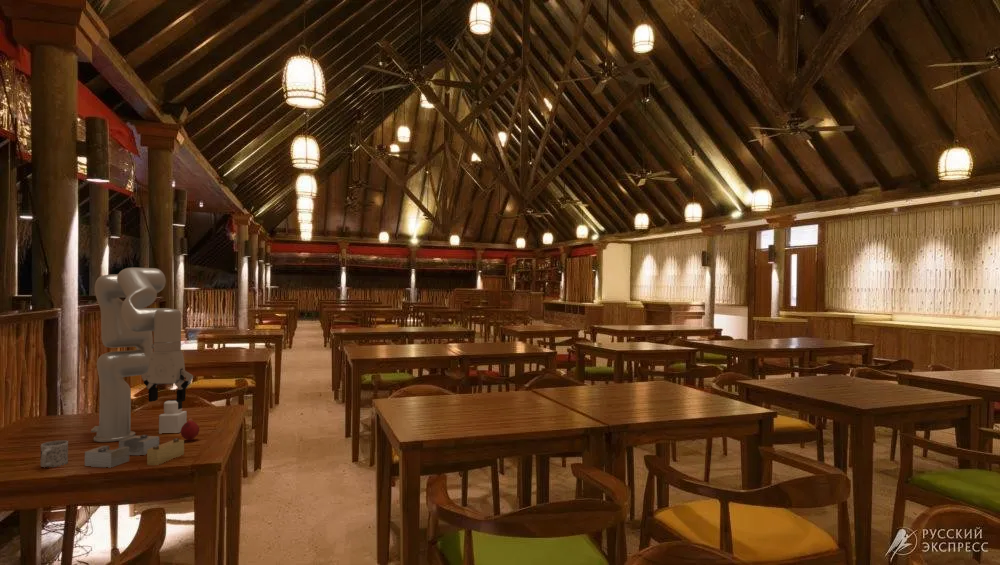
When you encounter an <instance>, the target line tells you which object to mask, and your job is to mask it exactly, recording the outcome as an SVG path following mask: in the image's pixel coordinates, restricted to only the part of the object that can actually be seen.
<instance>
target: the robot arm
mask: <svg viewBox="0 0 1000 565" xmlns="http://www.w3.org/2000/svg"><path fill="white" fill-rule="evenodd" d="M166 281H167V279H166V276H165V274H164V272H163V271H162V270H161V269H159V268H157V267H156V268H154V267H126V268H124V269H122V270H120V271H119V273H117V274H115V273H114V274H105V275H101V276H99V277H98V278H97V279H96V281H95V283H94V284H95V285H94V292H95V293H94V294H95V298H96V301H97V303H98V306H99V309H100V310H99V311H100V328H101V333H100V334H101V336H100V337H101V342H102V345H103V346H104V347H106V348H110V349H112V348H114V349H116V348H117V349H118V348H132V347H133V348H134V347H135V349H134V350H133V349H132V350H119V351H118V350H116V351H115V350H114V351H109V352H106V353H103V354H101V355H100V356H99V357H98V359H97V361H96V370H97V376H98V382H99V385H98V386H99V414H98V415H99V420H98V421H99V423H98V425H94V427H93V428H91V430H90V433H96V435H95V436H94V437H93V441H94V442H98V443H111V442H119V441H120V440H123V439H126V438H129V437H132V436H136V432H135V431H132V430H131V418H132V417H131V410H132V409H131V408H132V405H131V404H132V401H131V400H132V389H131V386H130V384H129V383H127V381H125V379H124V378H126V377H127V378H128V377H136V376H141V379H142V381H143V384H144V385H145V387H146V389H147V390H148V402H149V403H152V402H156V401H158V399H159V392H158V391H159V389H158V388H159V387H157V386H158V385H173V384H174V385H175V386H176V388H177V389H176V400H177V402H182V403H183V402H185V401H186V393H187V392H186V390H187V389H188V387H189V385H190V384H191V383H192V380H193V378H194V375H193V374H191V373H190V372H188V371H187V370H186V365H185V358H184V353H183V351H182V313H181V310H179V309H176V308H170V307H163V308H162V307H161V308H160V307H159V308H158V307H155V308H154V307H151V308H150V307H149V306H150V305H152V304H153V303H154V302H155V301H156V299H157V297H158V293H160V292H161V291H163V290H164V288H165V286H166ZM121 298H125V299H124V300H122V299H121ZM148 307H149V308H148Z"/></svg>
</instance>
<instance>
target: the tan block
mask: <svg viewBox="0 0 1000 565" xmlns="http://www.w3.org/2000/svg"><path fill="white" fill-rule="evenodd" d="M184 454H185V439H180V438H173V439H172V440H169V441H167V442H163V443H161V444H159V445H158V446H153V448H150V449H147V455H146V459H147V460H146V466H156V465H158V466H160V465H162V464H164V462H165V463H167V462H169V460H170V461H172V460H174V459H173V458H175V459H177V458H179V457H181V455H182V456H184ZM176 457H177V458H176ZM171 459H172V460H171ZM166 461H167V462H166ZM159 464H160V465H159Z"/></svg>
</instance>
